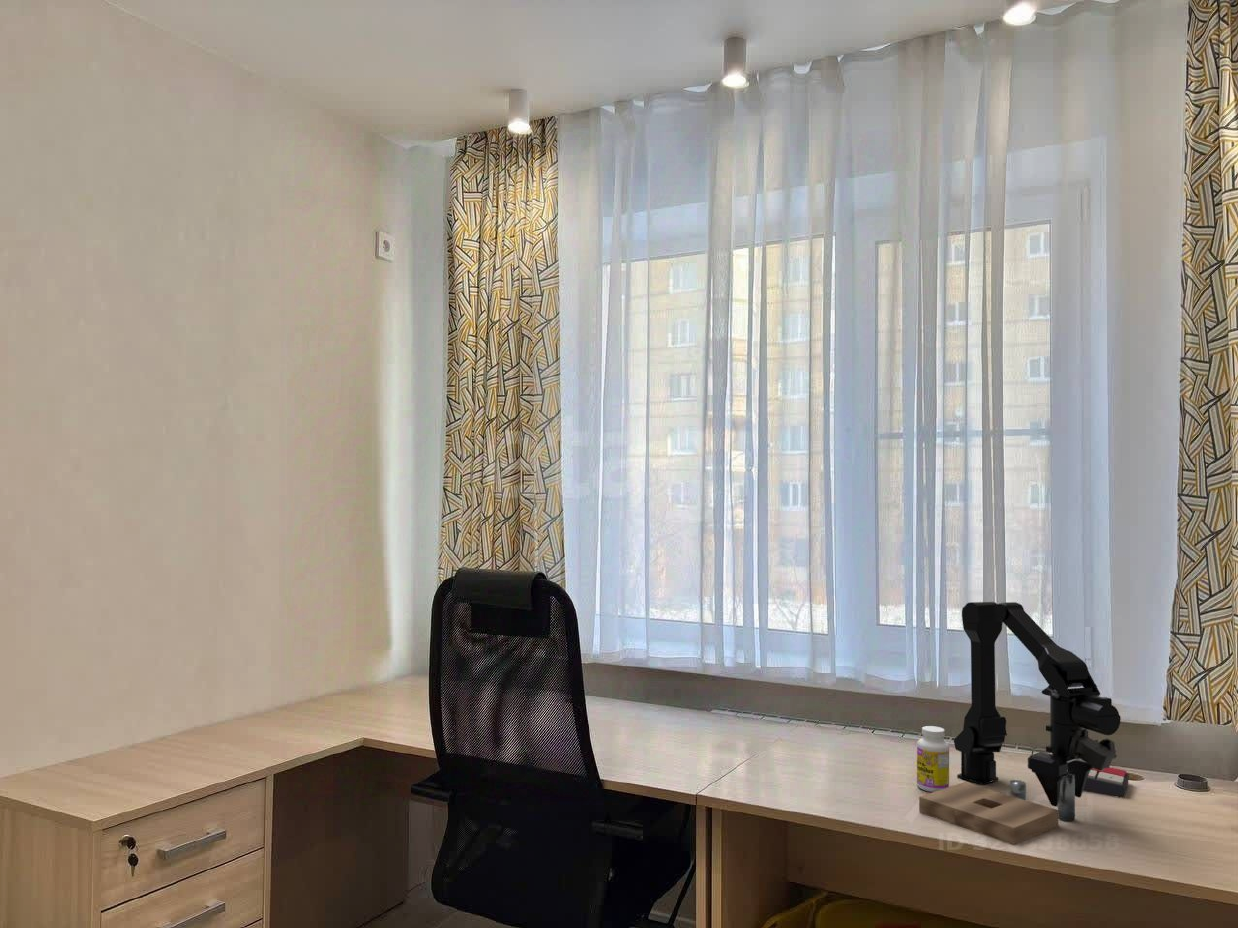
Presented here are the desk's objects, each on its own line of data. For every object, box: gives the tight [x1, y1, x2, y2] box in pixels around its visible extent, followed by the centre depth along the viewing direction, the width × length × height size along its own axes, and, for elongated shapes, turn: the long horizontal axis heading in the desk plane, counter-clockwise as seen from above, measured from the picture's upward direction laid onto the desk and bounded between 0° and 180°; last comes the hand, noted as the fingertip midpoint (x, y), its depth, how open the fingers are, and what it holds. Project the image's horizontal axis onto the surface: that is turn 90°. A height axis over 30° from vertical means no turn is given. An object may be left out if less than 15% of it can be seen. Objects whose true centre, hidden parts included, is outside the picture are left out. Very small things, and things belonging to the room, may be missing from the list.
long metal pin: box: [1057, 771, 1076, 823], centre depth 176 cm, size 3×3×9 cm
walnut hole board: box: [918, 781, 1060, 845], centre depth 175 cm, size 20×16×3 cm
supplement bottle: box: [916, 725, 950, 793], centre depth 193 cm, size 7×7×13 cm
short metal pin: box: [1009, 779, 1027, 801], centre depth 184 cm, size 3×3×4 cm
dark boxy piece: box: [1067, 766, 1130, 799], centre depth 197 cm, size 11×4×15 cm
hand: (1066, 801), depth 176 cm, fingers open, 9 cm apart
